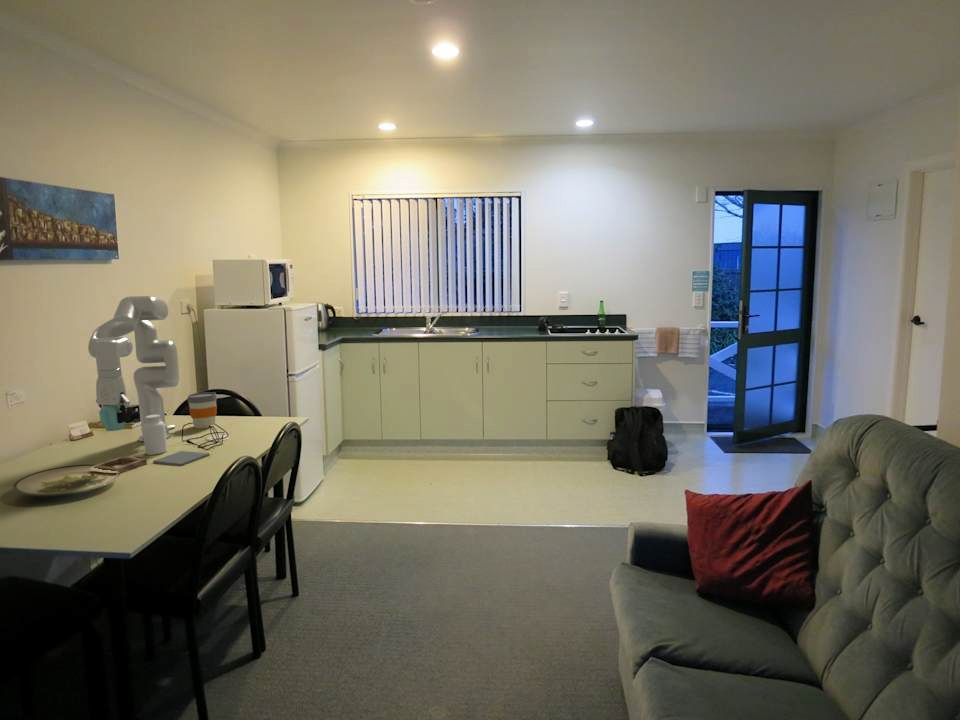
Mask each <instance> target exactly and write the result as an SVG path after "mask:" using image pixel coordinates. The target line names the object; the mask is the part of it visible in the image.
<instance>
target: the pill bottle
mask: <svg viewBox="0 0 960 720" xmlns="http://www.w3.org/2000/svg"><path fill="white" fill-rule="evenodd" d="M145 420H146V422H147V423H145V424H144V425H143V434H144V444H143V445H144V452H145V454H146V455H151V456H153V455H160V454H164V453H166V452H168V443H167V439H166V430H165V424H164V422H162V421H160V420H161V419H160V415H149V416H146V417H145Z"/></svg>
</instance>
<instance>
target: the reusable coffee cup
mask: <svg viewBox="0 0 960 720" xmlns="http://www.w3.org/2000/svg"><path fill="white" fill-rule="evenodd" d="M217 400H218V398H217V393H216V392H213V391H211V392H209V391H208V392H207V391H205V392H196V393H191V394H188V395H187V403H188V406H189V407H188V410H189V415H190V418H191V419H192V424H193V428H194V427H195V428H194V429H198V428H201V429H208V427H209V425H214V424H215V425H216V416H217V409H218V405H217ZM209 428H210V427H209Z"/></svg>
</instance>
